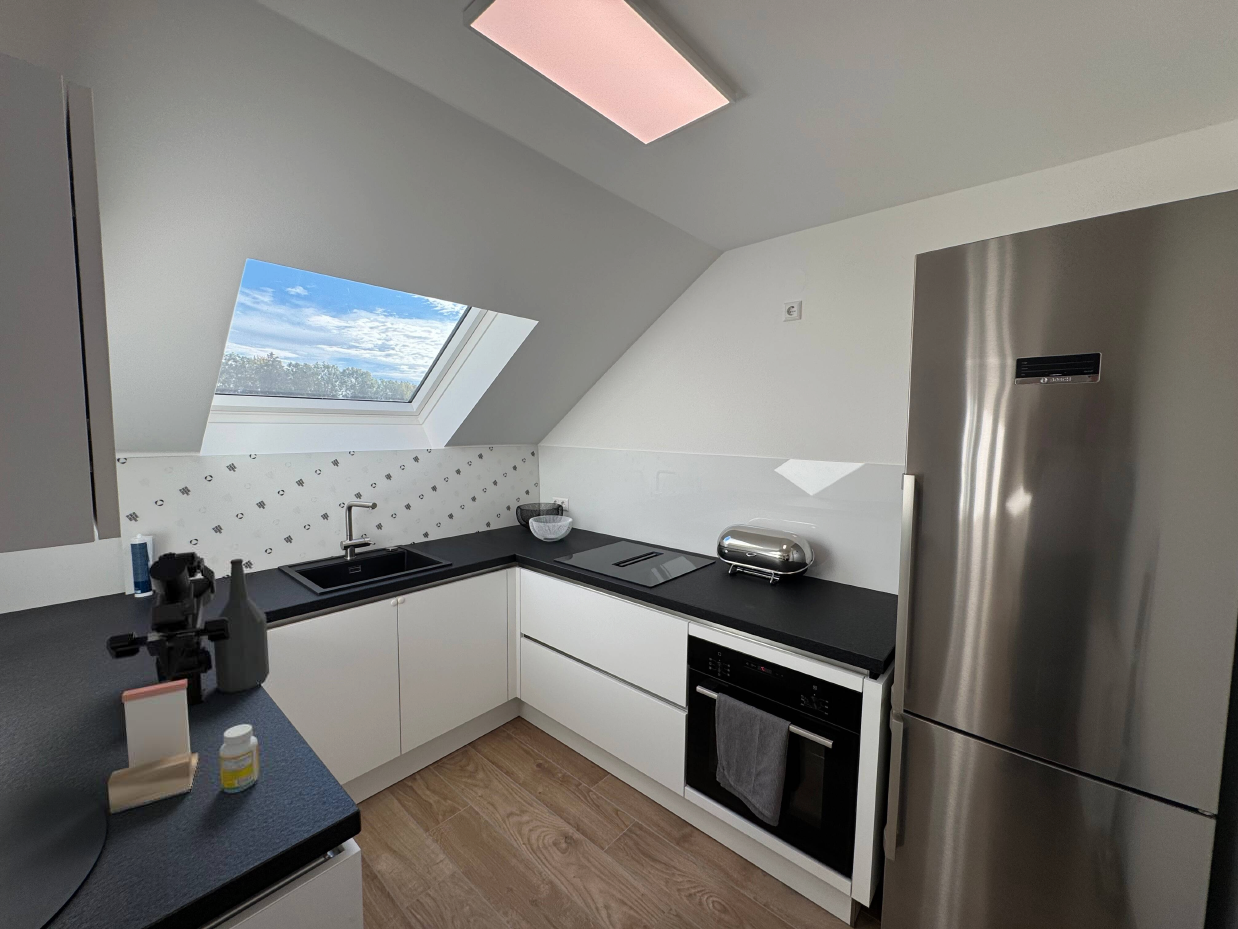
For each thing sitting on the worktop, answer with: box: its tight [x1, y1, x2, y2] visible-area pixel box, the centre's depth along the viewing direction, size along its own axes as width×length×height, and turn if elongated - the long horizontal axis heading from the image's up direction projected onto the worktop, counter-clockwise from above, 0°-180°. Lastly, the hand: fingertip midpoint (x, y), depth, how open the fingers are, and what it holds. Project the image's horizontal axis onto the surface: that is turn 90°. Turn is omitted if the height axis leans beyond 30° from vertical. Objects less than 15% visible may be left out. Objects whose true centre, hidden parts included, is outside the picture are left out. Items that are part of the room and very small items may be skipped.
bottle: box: [213, 558, 270, 693], centre depth 126 cm, size 10×10×30 cm
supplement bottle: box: [219, 723, 260, 790], centre depth 92 cm, size 5×5×10 cm
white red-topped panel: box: [121, 679, 191, 768], centre depth 94 cm, size 2×8×14 cm, turn 122°
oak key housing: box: [107, 751, 199, 812], centre depth 91 cm, size 10×10×6 cm
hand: (169, 677), depth 104 cm, fingers closed
